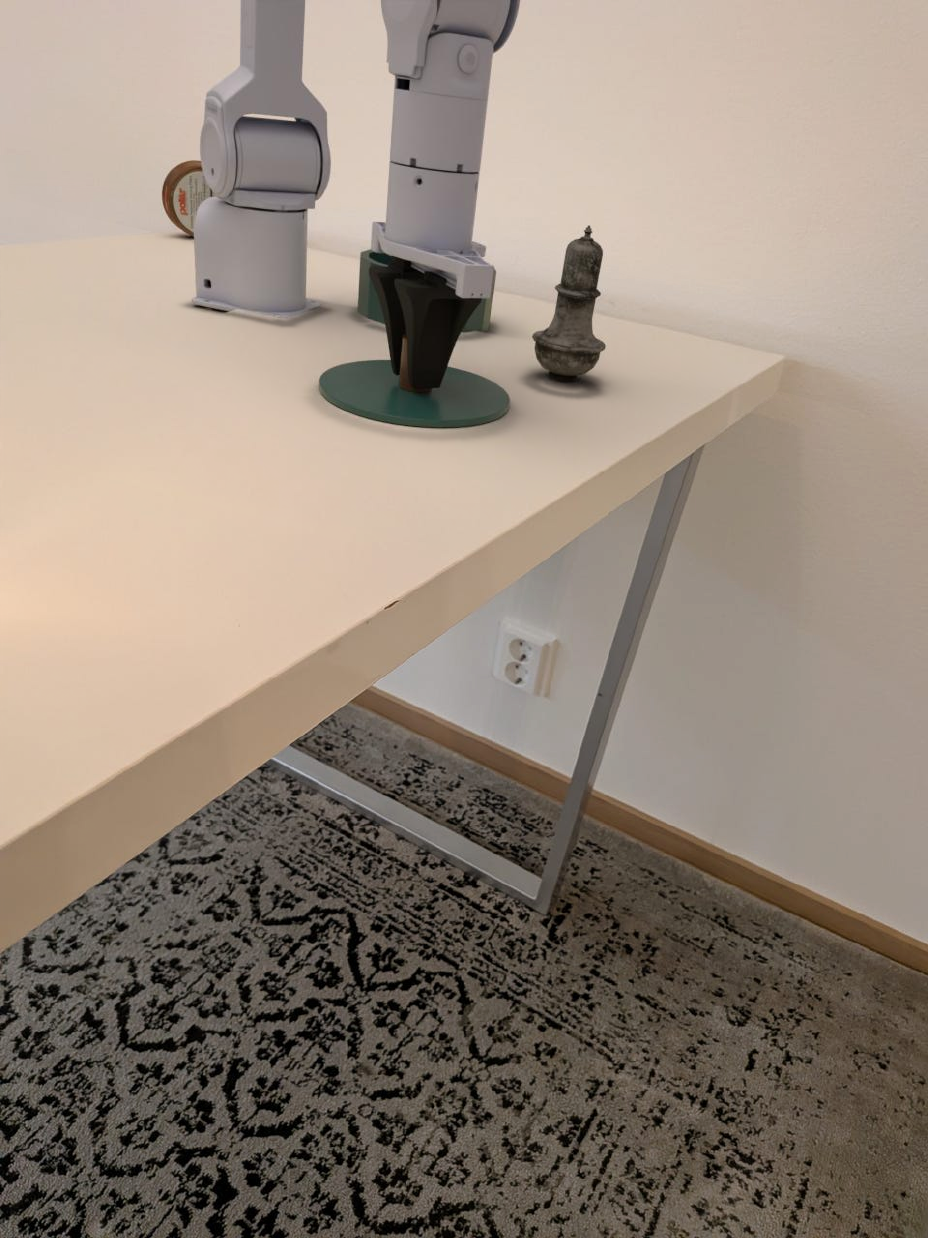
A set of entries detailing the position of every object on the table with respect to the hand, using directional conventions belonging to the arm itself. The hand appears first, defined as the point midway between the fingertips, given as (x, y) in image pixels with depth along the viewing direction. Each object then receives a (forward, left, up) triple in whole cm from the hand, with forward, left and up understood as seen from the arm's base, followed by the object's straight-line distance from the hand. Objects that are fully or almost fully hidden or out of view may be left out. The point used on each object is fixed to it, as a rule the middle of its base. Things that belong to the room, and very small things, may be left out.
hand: (416, 380), depth 62 cm
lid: (0, 0, -1) cm, 1 cm away
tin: (-42, +46, -2) cm, 62 cm away
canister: (-8, +24, -2) cm, 25 cm away
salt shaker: (+8, +12, -2) cm, 15 cm away
